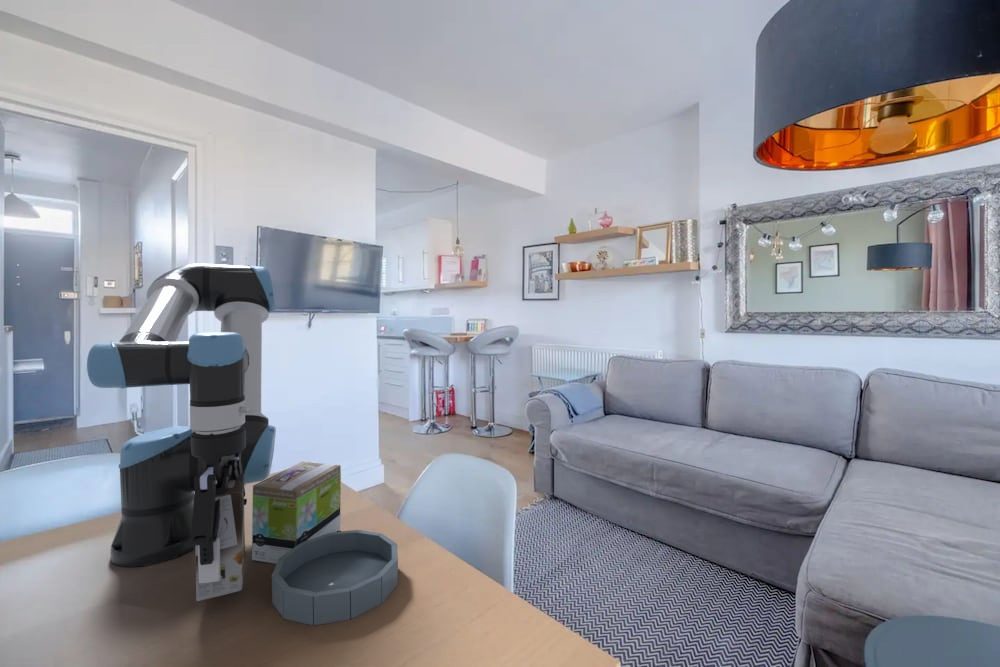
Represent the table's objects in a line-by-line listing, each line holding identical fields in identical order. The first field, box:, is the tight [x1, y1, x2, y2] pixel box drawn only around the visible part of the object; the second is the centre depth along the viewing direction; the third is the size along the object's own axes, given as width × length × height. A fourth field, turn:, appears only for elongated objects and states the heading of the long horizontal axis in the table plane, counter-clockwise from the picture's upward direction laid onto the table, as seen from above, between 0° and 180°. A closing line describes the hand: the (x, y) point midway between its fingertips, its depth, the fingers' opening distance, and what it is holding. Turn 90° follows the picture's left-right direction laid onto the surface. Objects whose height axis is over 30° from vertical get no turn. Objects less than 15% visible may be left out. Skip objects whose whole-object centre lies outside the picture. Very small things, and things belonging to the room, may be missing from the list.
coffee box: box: [194, 474, 246, 602], centre depth 72 cm, size 9×6×16 cm
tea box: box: [251, 461, 342, 565], centre depth 90 cm, size 15×10×15 cm
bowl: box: [271, 529, 399, 626], centre depth 77 cm, size 20×20×4 cm
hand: (222, 561), depth 73 cm, fingers closed on coffee box, 10 cm apart
